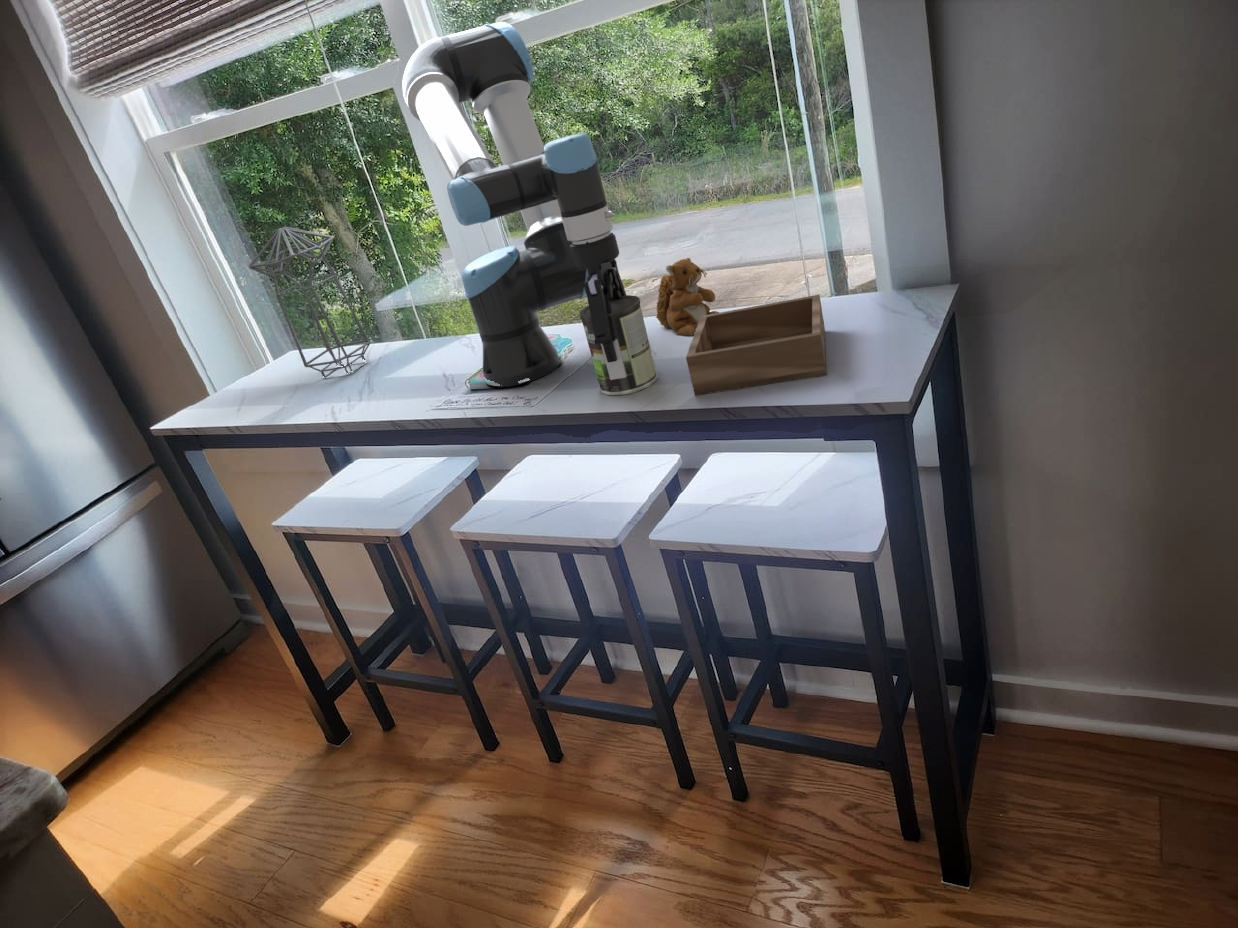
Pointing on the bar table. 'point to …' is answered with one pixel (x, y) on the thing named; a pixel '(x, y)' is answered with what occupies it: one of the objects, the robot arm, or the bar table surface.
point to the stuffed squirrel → (683, 298)
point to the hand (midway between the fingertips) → (624, 366)
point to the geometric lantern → (294, 235)
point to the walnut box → (758, 346)
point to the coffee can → (623, 348)
